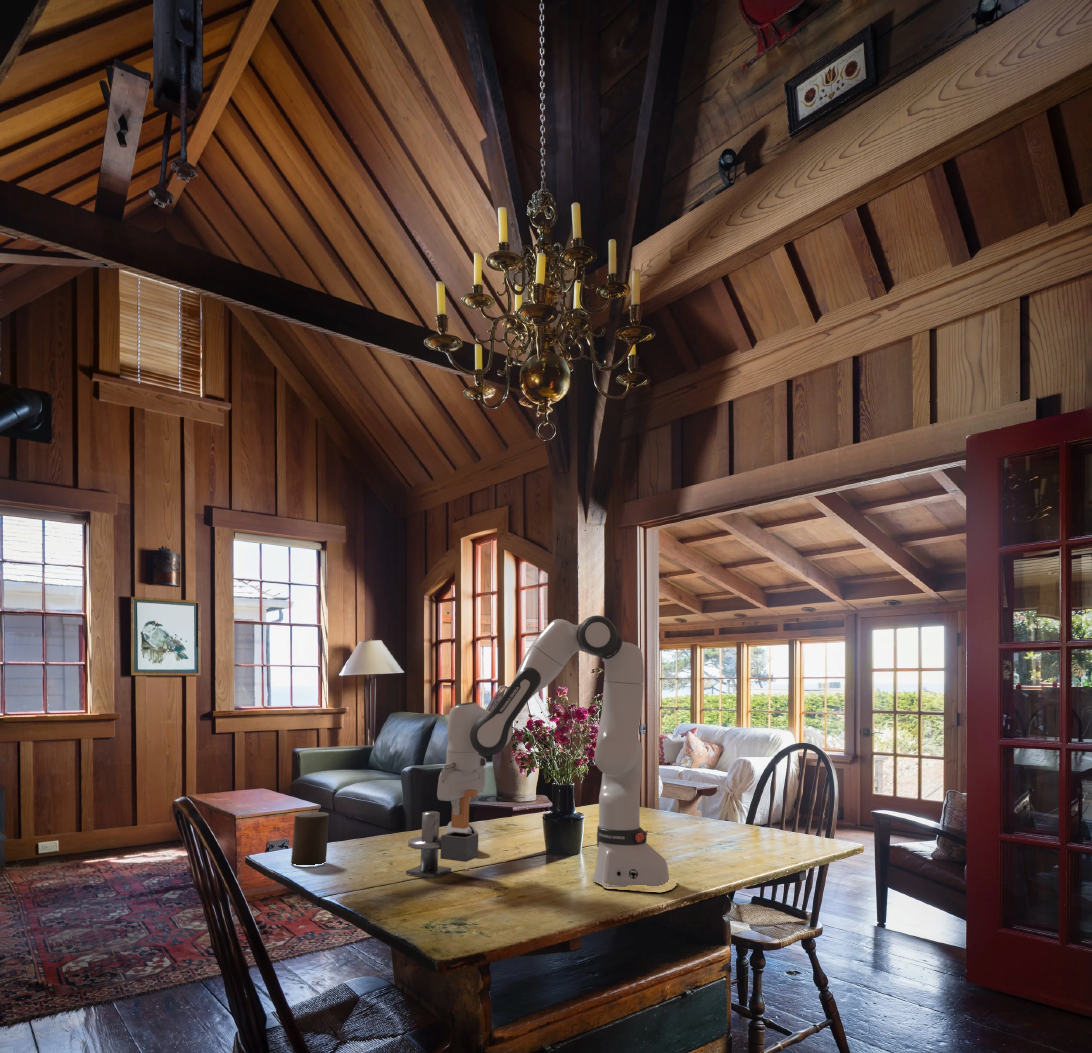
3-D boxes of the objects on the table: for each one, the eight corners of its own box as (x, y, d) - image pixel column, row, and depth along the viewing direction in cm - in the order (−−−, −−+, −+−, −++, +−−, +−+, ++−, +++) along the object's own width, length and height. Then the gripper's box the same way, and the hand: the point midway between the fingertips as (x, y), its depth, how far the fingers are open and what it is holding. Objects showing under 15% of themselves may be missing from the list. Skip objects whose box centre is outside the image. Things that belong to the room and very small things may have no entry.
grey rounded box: (435, 847, 264) (446, 815, 267) (448, 850, 266) (459, 819, 269) (457, 857, 250) (468, 824, 253) (470, 861, 252) (481, 828, 255)
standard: (482, 874, 231) (483, 813, 233) (460, 884, 220) (462, 820, 223) (422, 866, 239) (424, 807, 241) (398, 875, 228) (400, 814, 231)
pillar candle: (313, 869, 233) (317, 813, 236) (283, 866, 236) (287, 810, 239) (332, 862, 242) (336, 808, 245) (304, 859, 245) (307, 806, 248)
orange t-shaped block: (476, 828, 228) (477, 790, 230) (472, 829, 226) (473, 791, 228) (448, 825, 232) (449, 787, 234) (443, 826, 230) (444, 789, 231)
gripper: (452, 766, 221) (451, 820, 219) (489, 759, 240) (488, 809, 237) (432, 764, 224) (430, 818, 222) (470, 757, 242) (468, 807, 240)
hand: (460, 813), depth 230 cm, fingers closed on orange t-shaped block, 2 cm apart
